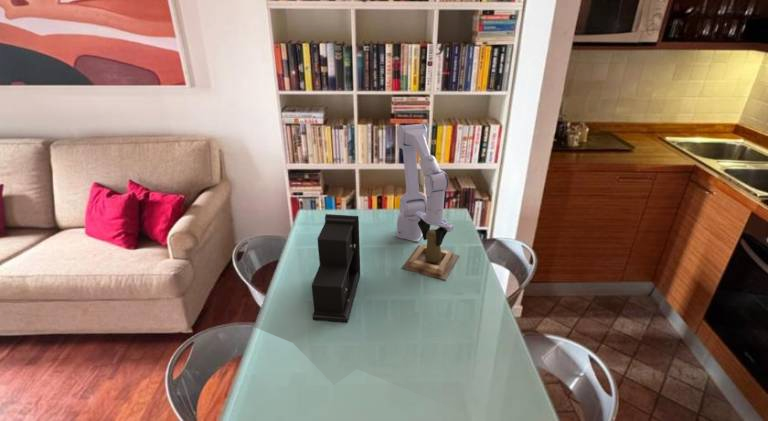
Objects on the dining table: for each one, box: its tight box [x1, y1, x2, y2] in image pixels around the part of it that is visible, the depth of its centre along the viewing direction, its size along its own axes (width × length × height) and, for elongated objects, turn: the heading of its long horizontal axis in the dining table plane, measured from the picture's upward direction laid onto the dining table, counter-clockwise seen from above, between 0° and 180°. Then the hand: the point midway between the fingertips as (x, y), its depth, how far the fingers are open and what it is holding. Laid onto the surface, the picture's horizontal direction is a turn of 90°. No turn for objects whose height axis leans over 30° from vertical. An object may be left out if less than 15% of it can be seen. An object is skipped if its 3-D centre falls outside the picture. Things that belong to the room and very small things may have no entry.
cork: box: [425, 228, 442, 262], centre depth 143 cm, size 6×6×11 cm
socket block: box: [401, 243, 460, 281], centre depth 146 cm, size 16×16×2 cm
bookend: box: [311, 213, 361, 324], centre depth 124 cm, size 23×11×24 cm, turn 174°
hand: (432, 241), depth 142 cm, fingers closed on cork, 5 cm apart
